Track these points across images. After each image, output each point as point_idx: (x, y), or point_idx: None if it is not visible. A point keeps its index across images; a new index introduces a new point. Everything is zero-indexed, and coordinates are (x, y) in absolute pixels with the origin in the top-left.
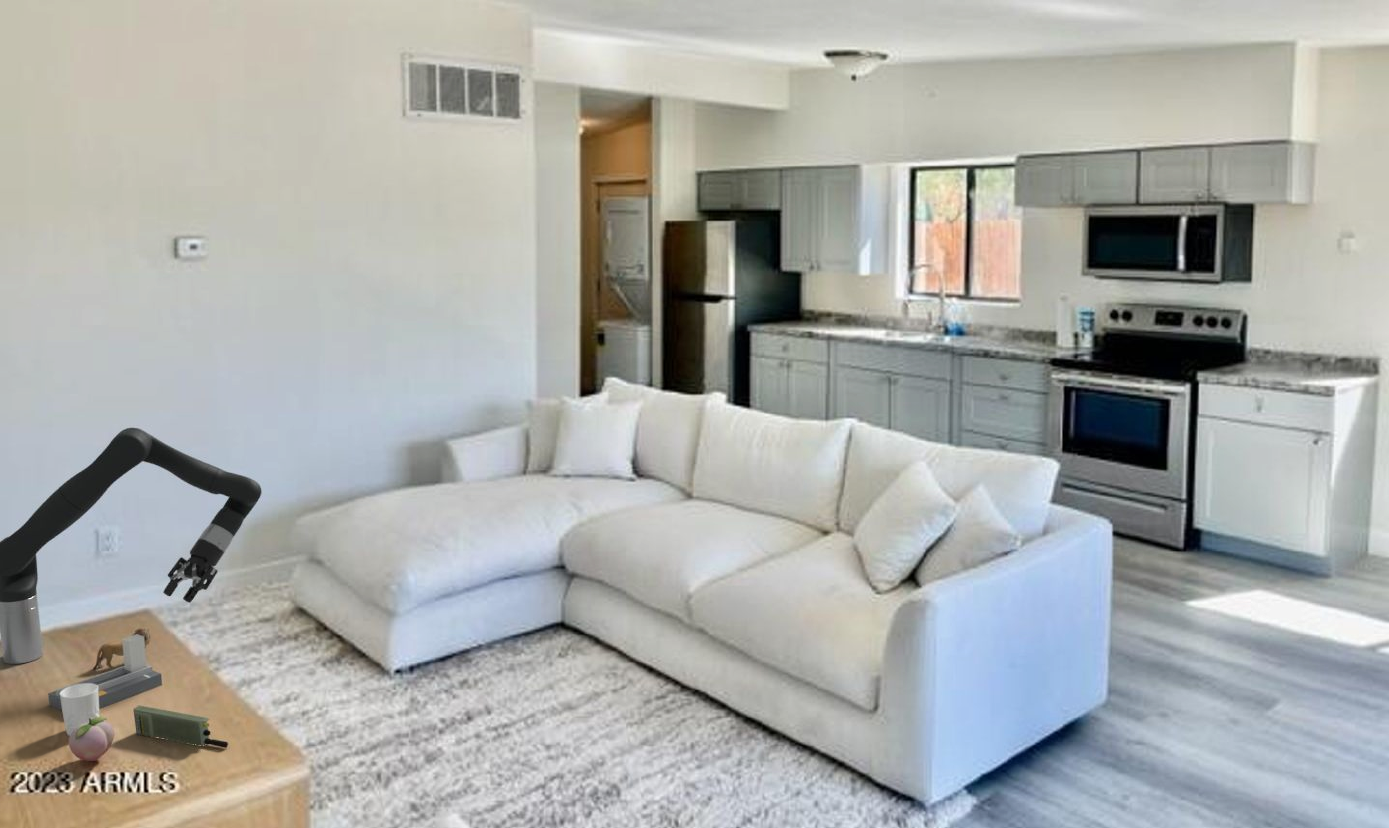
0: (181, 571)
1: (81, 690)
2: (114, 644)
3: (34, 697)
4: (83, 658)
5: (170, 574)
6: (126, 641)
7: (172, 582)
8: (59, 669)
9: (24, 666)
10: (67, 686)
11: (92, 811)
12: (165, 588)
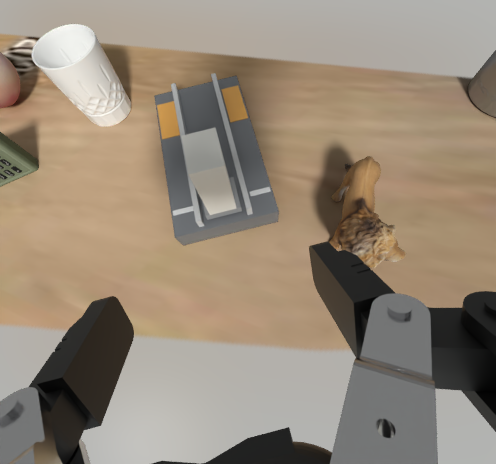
0: (340, 427)
1: (95, 63)
2: (358, 178)
3: (287, 83)
4: (437, 170)
5: (485, 316)
6: (194, 134)
7: (347, 301)
8: (397, 128)
9: (450, 91)
10: (216, 87)
11: None
12: (337, 251)
